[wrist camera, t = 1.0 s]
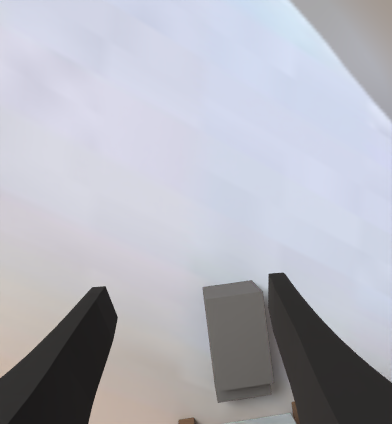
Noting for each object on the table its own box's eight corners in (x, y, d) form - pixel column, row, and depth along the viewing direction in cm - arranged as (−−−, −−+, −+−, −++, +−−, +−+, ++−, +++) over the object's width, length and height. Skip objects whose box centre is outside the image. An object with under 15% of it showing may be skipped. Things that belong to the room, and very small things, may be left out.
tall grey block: (263, 378, 28) (276, 405, 24) (215, 385, 28) (220, 414, 24) (251, 280, 28) (262, 291, 24) (202, 287, 28) (205, 299, 24)
